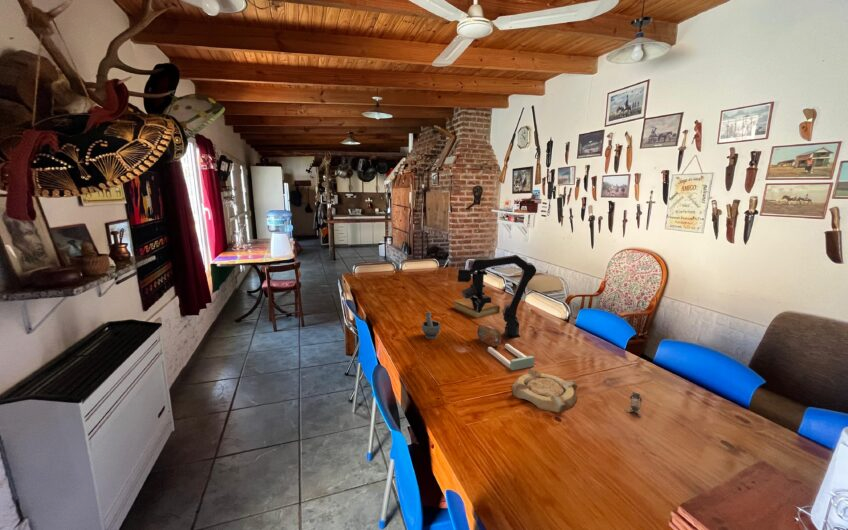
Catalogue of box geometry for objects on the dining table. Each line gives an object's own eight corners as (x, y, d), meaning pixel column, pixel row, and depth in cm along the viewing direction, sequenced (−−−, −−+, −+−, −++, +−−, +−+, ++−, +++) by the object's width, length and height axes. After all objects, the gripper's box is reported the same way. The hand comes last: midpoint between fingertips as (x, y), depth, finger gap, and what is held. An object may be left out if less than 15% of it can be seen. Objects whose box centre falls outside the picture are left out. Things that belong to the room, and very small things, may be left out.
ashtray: (546, 421, 112) (547, 407, 111) (498, 386, 132) (498, 374, 132) (594, 401, 123) (596, 388, 122) (543, 372, 143) (544, 361, 142)
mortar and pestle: (442, 339, 175) (443, 316, 173) (425, 341, 173) (425, 318, 171) (435, 331, 186) (435, 309, 184) (419, 333, 183) (418, 311, 181)
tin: (476, 338, 177) (477, 322, 175) (481, 337, 178) (482, 321, 177) (497, 349, 164) (498, 332, 162) (502, 347, 166) (503, 331, 164)
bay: (507, 347, 166) (508, 339, 165) (533, 365, 148) (534, 357, 147) (487, 351, 162) (488, 343, 161) (512, 370, 144) (512, 361, 143)
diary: (499, 314, 215) (500, 305, 214) (476, 319, 205) (477, 310, 204) (475, 304, 234) (475, 295, 233) (453, 308, 224) (453, 300, 223)
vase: (625, 403, 121) (629, 388, 120) (643, 410, 118) (647, 395, 116) (623, 410, 117) (626, 395, 115) (641, 418, 114) (645, 402, 112)
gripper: (455, 279, 183) (455, 308, 187) (472, 288, 166) (471, 319, 169) (474, 278, 187) (473, 305, 190) (492, 286, 170) (491, 316, 173)
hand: (476, 311), depth 181 cm, fingers open, 4 cm apart
